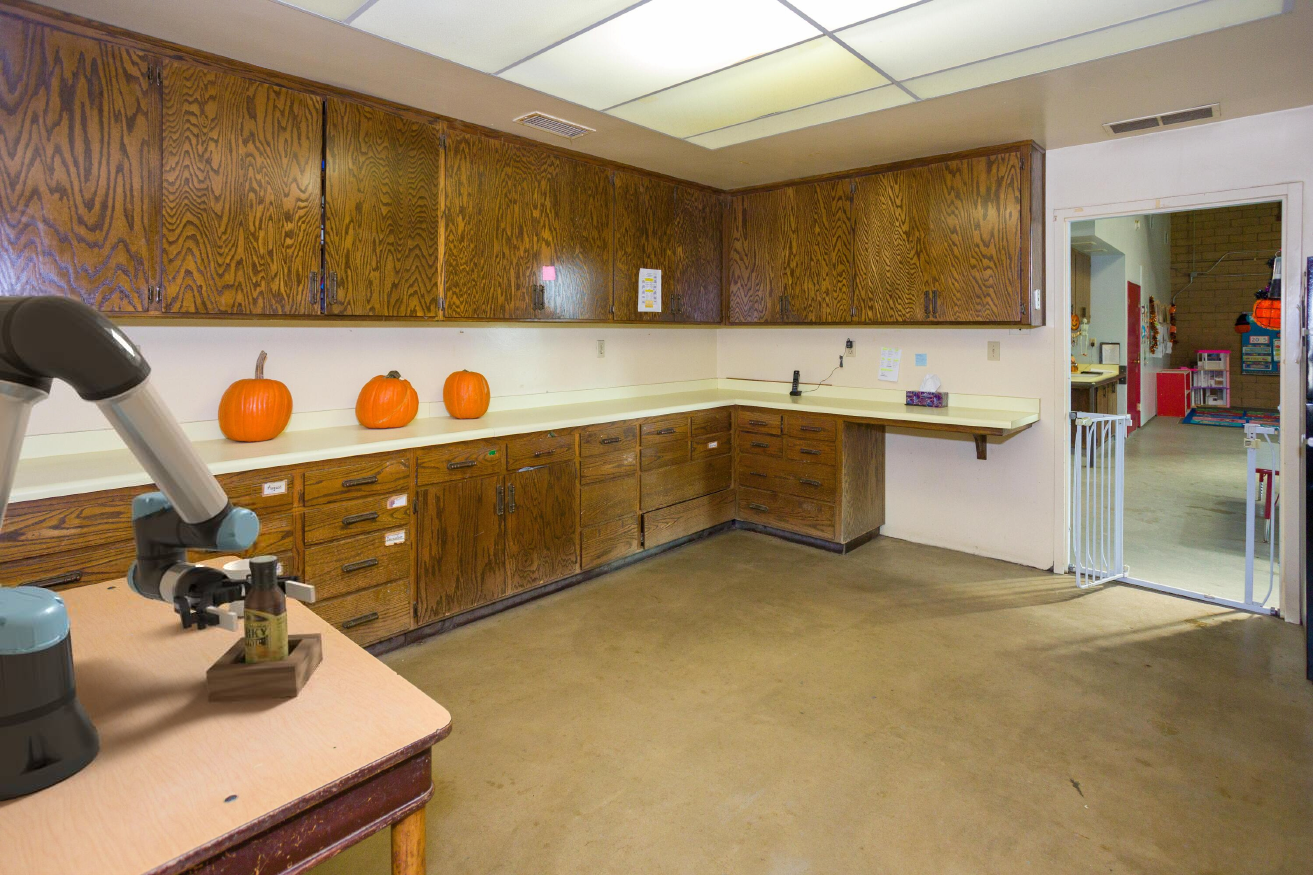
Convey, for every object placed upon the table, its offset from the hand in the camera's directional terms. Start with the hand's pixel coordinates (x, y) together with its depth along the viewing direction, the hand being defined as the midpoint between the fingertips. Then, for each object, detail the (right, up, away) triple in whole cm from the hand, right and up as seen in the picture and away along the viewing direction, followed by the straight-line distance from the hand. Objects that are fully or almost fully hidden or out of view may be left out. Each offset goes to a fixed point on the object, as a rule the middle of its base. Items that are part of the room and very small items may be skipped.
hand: (276, 607), depth 118 cm
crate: (-3, -13, +3) cm, 13 cm away
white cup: (-23, -9, +34) cm, 42 cm away
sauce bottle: (-3, -12, +3) cm, 13 cm away
